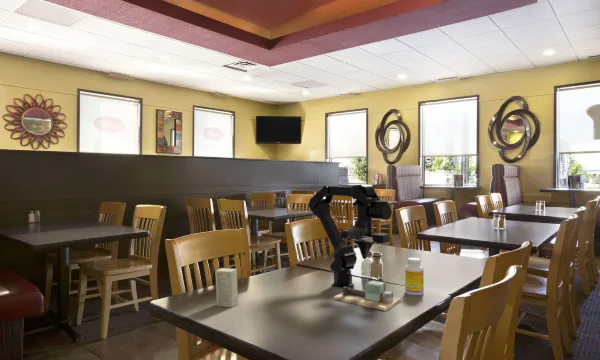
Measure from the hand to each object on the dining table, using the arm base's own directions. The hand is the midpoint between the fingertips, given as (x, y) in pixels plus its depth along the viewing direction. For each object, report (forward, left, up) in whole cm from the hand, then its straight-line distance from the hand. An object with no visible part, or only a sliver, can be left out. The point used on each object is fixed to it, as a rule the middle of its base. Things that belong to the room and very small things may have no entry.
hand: (364, 258), depth 149 cm
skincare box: (-30, -42, -13) cm, 53 cm away
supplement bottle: (+16, +9, -13) cm, 22 cm away
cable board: (+6, -9, -12) cm, 17 cm away
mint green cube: (+9, -9, -11) cm, 17 cm away
